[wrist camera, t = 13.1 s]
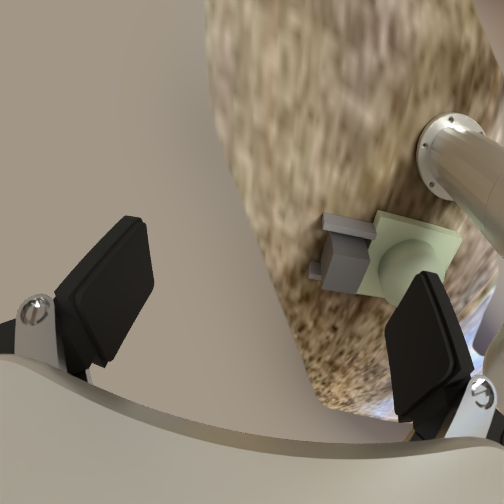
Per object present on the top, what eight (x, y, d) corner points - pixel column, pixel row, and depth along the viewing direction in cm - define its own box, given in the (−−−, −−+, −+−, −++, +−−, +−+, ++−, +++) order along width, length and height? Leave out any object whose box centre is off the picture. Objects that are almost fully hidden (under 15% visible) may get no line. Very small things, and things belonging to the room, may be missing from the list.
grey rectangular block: (362, 231, 39) (370, 260, 33) (350, 264, 42) (355, 294, 37) (330, 225, 39) (333, 253, 34) (320, 258, 43) (321, 289, 37)
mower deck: (457, 232, 35) (473, 254, 30) (422, 296, 43) (431, 321, 39) (326, 198, 37) (330, 219, 32) (305, 276, 45) (304, 302, 40)
